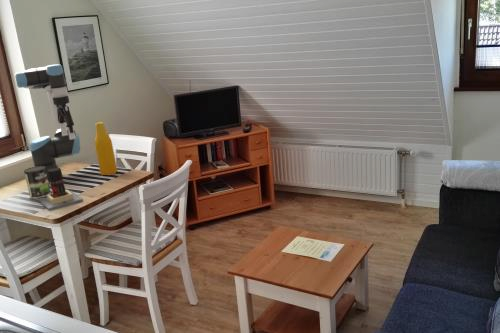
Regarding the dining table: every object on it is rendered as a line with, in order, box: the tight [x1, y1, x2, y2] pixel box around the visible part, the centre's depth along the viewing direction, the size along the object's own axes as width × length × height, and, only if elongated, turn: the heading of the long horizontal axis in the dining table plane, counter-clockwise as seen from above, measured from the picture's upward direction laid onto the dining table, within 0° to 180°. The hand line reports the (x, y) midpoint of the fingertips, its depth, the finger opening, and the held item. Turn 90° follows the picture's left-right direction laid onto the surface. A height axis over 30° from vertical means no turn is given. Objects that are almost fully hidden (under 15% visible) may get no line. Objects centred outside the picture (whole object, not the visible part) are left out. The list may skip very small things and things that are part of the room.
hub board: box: [38, 188, 84, 212], centre depth 251 cm, size 18×16×4 cm
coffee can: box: [23, 166, 52, 200], centre depth 263 cm, size 10×10×14 cm
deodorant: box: [48, 167, 66, 198], centre depth 249 cm, size 6×6×15 cm
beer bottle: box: [94, 121, 118, 176], centre depth 287 cm, size 9×9×29 cm
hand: (68, 137), depth 265 cm, fingers open, 13 cm apart
